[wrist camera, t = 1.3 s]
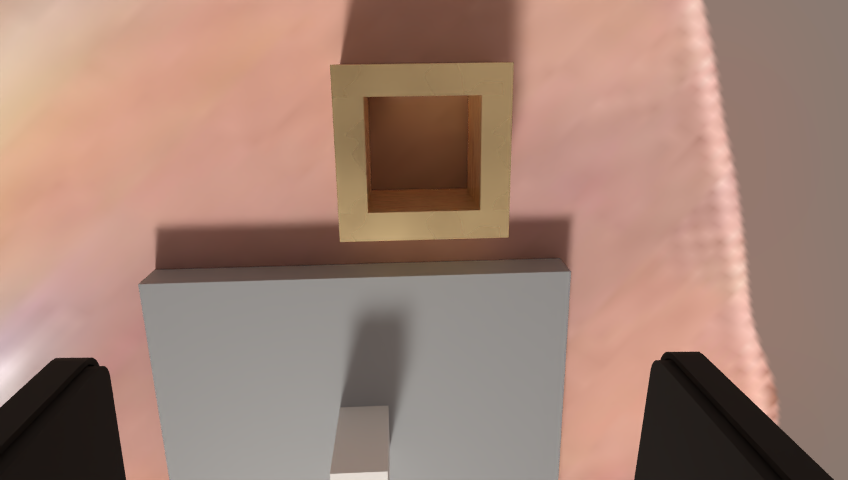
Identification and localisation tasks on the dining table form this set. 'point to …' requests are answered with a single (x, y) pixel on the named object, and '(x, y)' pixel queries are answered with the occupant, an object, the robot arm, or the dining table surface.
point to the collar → (424, 208)
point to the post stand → (360, 370)
